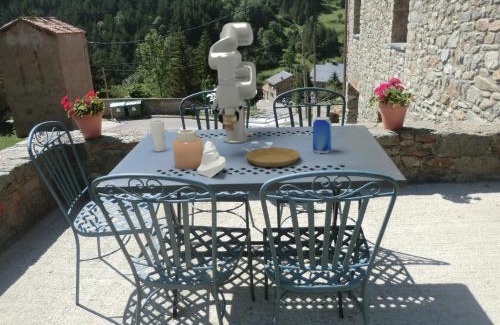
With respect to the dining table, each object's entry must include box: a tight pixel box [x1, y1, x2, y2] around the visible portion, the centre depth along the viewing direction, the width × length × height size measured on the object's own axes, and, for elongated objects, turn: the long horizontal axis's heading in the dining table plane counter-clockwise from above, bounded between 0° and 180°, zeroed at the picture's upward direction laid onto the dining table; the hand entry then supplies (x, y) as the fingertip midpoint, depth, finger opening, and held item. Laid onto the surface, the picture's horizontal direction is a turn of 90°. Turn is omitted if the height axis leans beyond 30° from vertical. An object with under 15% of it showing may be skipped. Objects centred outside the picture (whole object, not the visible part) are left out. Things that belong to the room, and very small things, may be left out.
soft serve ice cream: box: [196, 140, 227, 179], centre depth 174 cm, size 12×15×14 cm
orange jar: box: [171, 128, 204, 170], centre depth 186 cm, size 13×13×15 cm
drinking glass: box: [149, 119, 166, 153], centre depth 210 cm, size 7×7×15 cm
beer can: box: [312, 116, 333, 154], centre depth 197 cm, size 8×8×16 cm
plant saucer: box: [245, 146, 301, 168], centre depth 188 cm, size 24×24×3 cm
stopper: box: [221, 114, 237, 132], centre depth 196 cm, size 7×7×6 cm
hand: (229, 121), depth 195 cm, fingers closed on stopper, 7 cm apart
